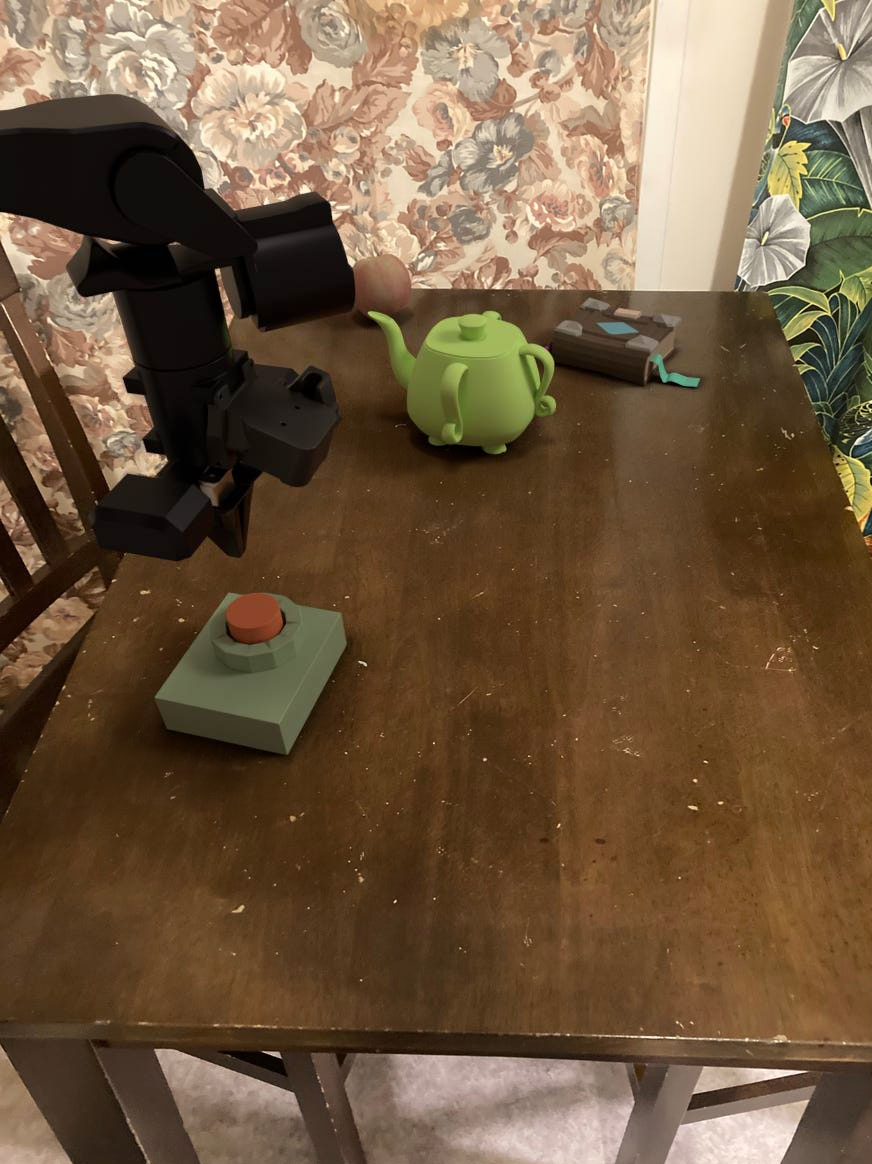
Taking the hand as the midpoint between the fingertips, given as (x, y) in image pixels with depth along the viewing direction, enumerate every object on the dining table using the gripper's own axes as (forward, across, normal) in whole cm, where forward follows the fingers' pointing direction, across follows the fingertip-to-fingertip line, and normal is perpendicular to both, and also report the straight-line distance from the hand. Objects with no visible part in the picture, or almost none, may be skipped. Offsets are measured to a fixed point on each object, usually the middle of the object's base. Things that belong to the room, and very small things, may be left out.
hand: (236, 554), depth 64 cm
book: (+12, +59, -20) cm, 64 cm away
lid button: (+7, 0, 0) cm, 7 cm away
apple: (+12, +63, +13) cm, 65 cm away
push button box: (+12, -1, 0) cm, 12 cm away
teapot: (+12, +39, -5) cm, 41 cm away
